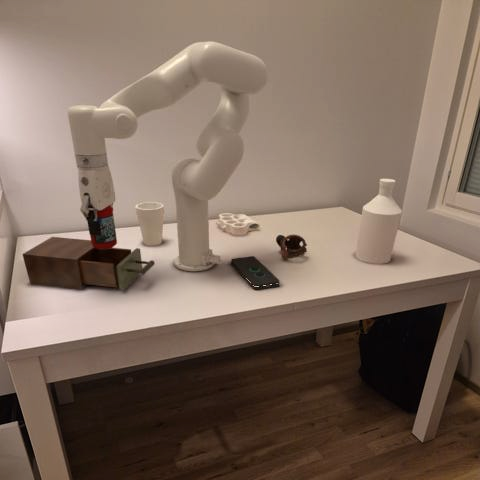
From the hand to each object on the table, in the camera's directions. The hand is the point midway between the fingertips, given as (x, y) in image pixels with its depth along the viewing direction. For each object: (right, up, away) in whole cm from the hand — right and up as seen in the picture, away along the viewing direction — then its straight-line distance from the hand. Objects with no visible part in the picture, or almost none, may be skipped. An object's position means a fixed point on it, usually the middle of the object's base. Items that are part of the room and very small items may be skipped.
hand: (102, 229), depth 113 cm
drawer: (+2, -13, +7) cm, 15 cm away
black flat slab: (+41, -11, +13) cm, 45 cm away
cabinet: (-13, -12, +10) cm, 20 cm away
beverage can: (0, -4, +3) cm, 5 cm away
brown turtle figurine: (+54, -3, +27) cm, 60 cm away
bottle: (+82, -3, +27) cm, 86 cm away
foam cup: (+6, +3, +35) cm, 36 cm away
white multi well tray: (+36, +11, +50) cm, 63 cm away
